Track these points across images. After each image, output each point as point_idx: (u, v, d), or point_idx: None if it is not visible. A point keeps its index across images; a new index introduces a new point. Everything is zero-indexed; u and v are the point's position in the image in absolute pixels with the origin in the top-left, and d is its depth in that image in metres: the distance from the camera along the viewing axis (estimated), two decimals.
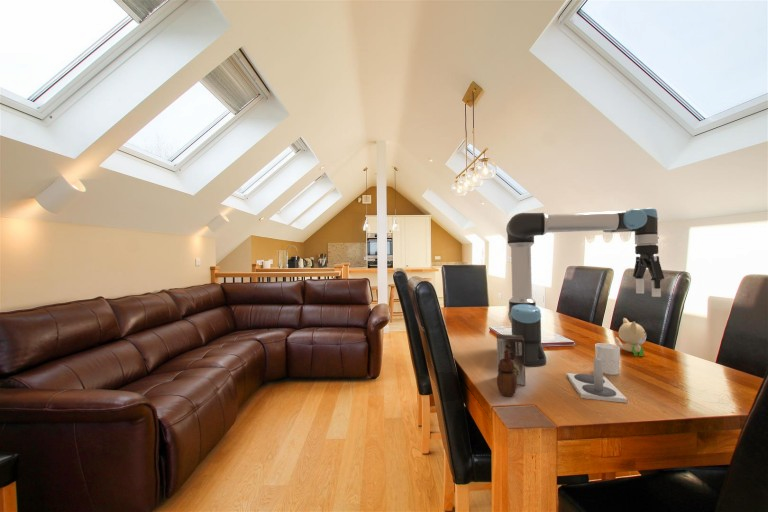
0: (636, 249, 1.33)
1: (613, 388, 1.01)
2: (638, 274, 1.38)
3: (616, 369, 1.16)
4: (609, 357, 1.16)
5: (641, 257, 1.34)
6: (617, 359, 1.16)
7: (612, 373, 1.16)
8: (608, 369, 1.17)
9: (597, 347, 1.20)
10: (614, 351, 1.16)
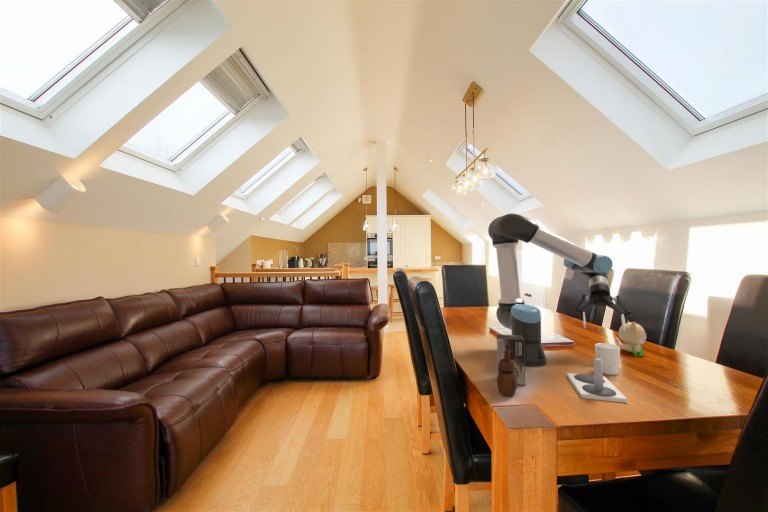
0: (600, 286, 1.39)
1: (613, 388, 1.01)
2: (585, 309, 1.37)
3: (616, 369, 1.16)
4: (609, 357, 1.16)
5: (595, 295, 1.39)
6: (617, 359, 1.16)
7: (612, 373, 1.16)
8: (608, 369, 1.17)
9: (597, 347, 1.20)
10: (614, 351, 1.16)
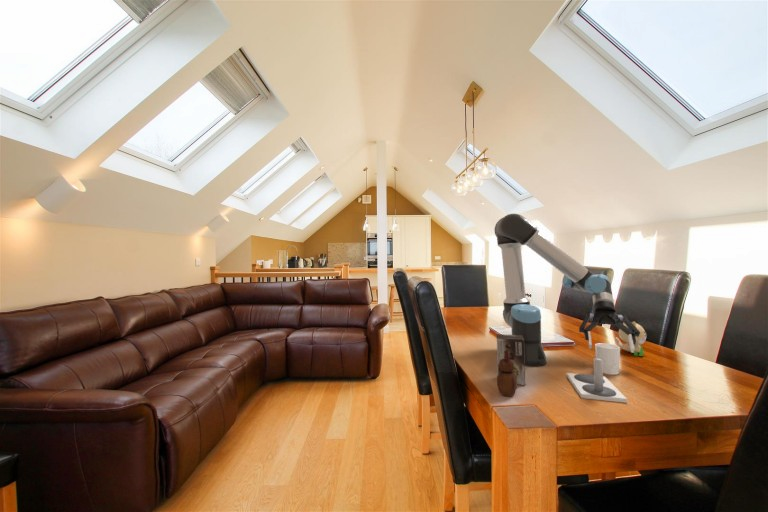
0: (605, 303, 1.32)
1: (613, 388, 1.01)
2: (590, 328, 1.30)
3: (616, 369, 1.16)
4: (609, 357, 1.16)
5: (600, 313, 1.32)
6: (617, 359, 1.16)
7: (612, 373, 1.16)
8: (608, 369, 1.17)
9: (597, 347, 1.20)
10: (614, 351, 1.16)
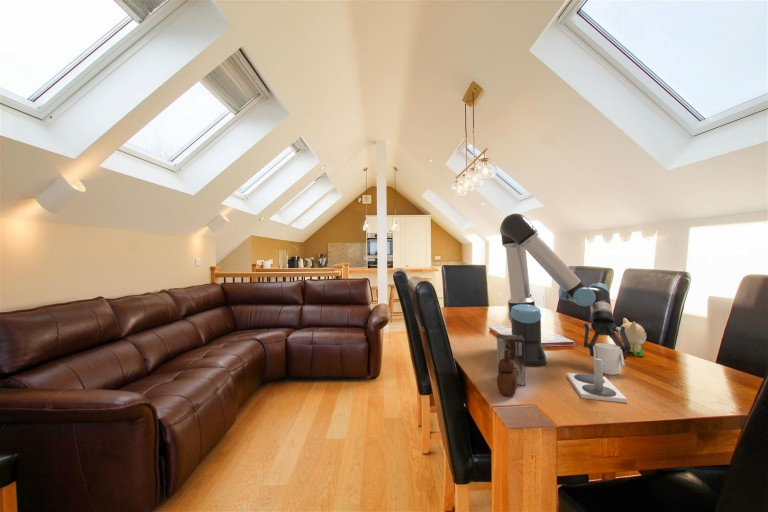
0: (603, 313, 1.28)
1: (613, 388, 1.01)
2: (594, 341, 1.24)
3: (616, 369, 1.16)
4: (609, 357, 1.16)
5: (597, 323, 1.28)
6: (617, 359, 1.16)
7: (612, 373, 1.16)
8: (608, 369, 1.17)
9: (597, 347, 1.20)
10: (614, 351, 1.16)
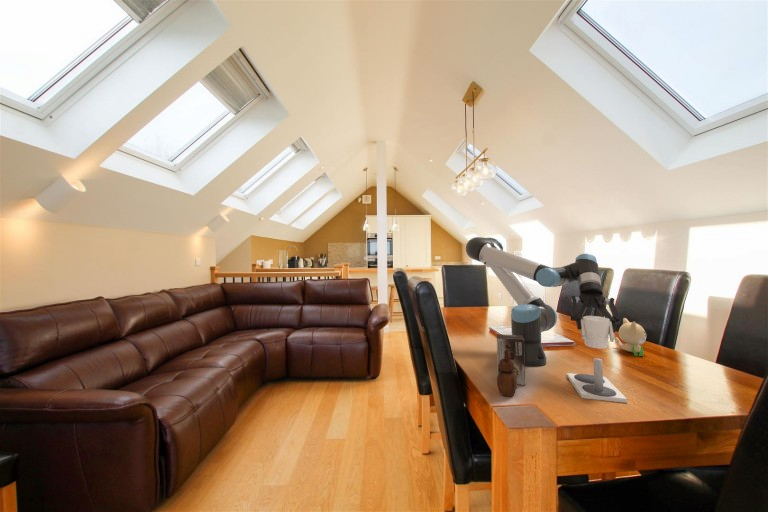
0: (592, 284, 1.19)
1: (613, 388, 1.01)
2: (582, 314, 1.15)
3: (605, 343, 1.08)
4: (598, 330, 1.08)
5: (585, 295, 1.19)
6: (606, 332, 1.08)
7: (600, 347, 1.08)
8: (596, 343, 1.08)
9: (585, 320, 1.11)
10: (603, 323, 1.07)
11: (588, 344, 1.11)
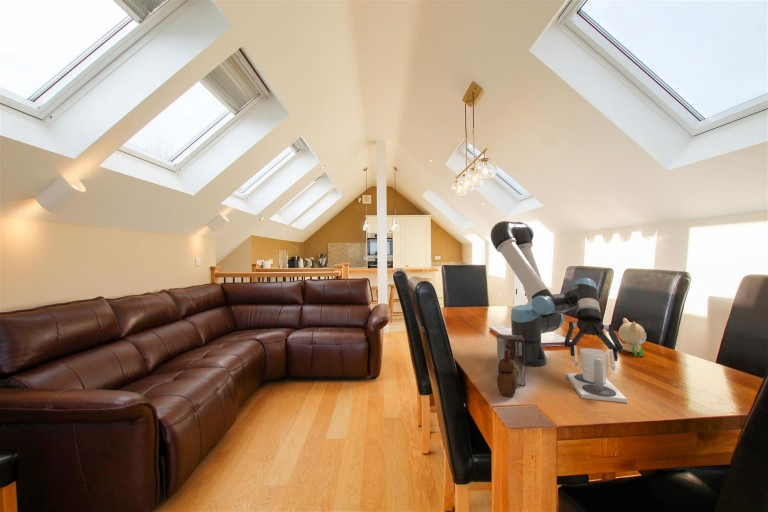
0: (590, 311, 1.16)
1: (613, 388, 1.01)
2: (576, 341, 1.13)
3: (603, 377, 1.05)
4: None
5: (583, 322, 1.17)
6: (604, 366, 1.05)
7: None
8: None
9: (582, 353, 1.08)
10: (600, 357, 1.04)
11: (586, 378, 1.07)
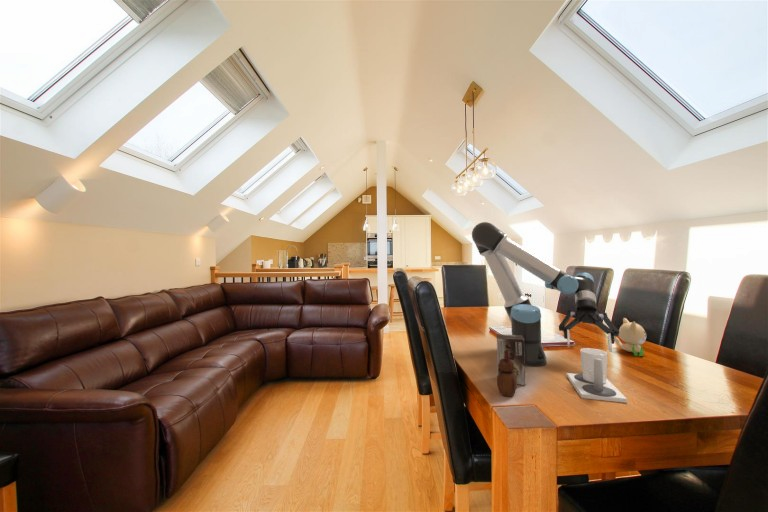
0: (587, 301, 1.29)
1: (613, 388, 1.01)
2: (570, 326, 1.27)
3: (603, 377, 1.05)
4: None
5: (581, 311, 1.30)
6: (604, 366, 1.05)
7: None
8: None
9: (582, 353, 1.08)
10: (601, 357, 1.04)
11: (586, 378, 1.07)
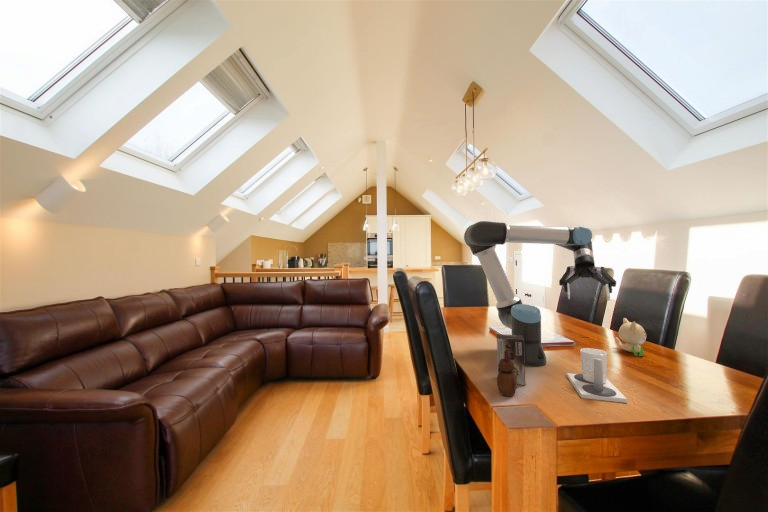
0: (585, 257, 1.37)
1: (613, 388, 1.01)
2: (570, 280, 1.35)
3: (603, 377, 1.05)
4: None
5: (579, 267, 1.37)
6: (604, 366, 1.05)
7: None
8: None
9: (582, 353, 1.08)
10: (601, 357, 1.04)
11: (586, 378, 1.07)
